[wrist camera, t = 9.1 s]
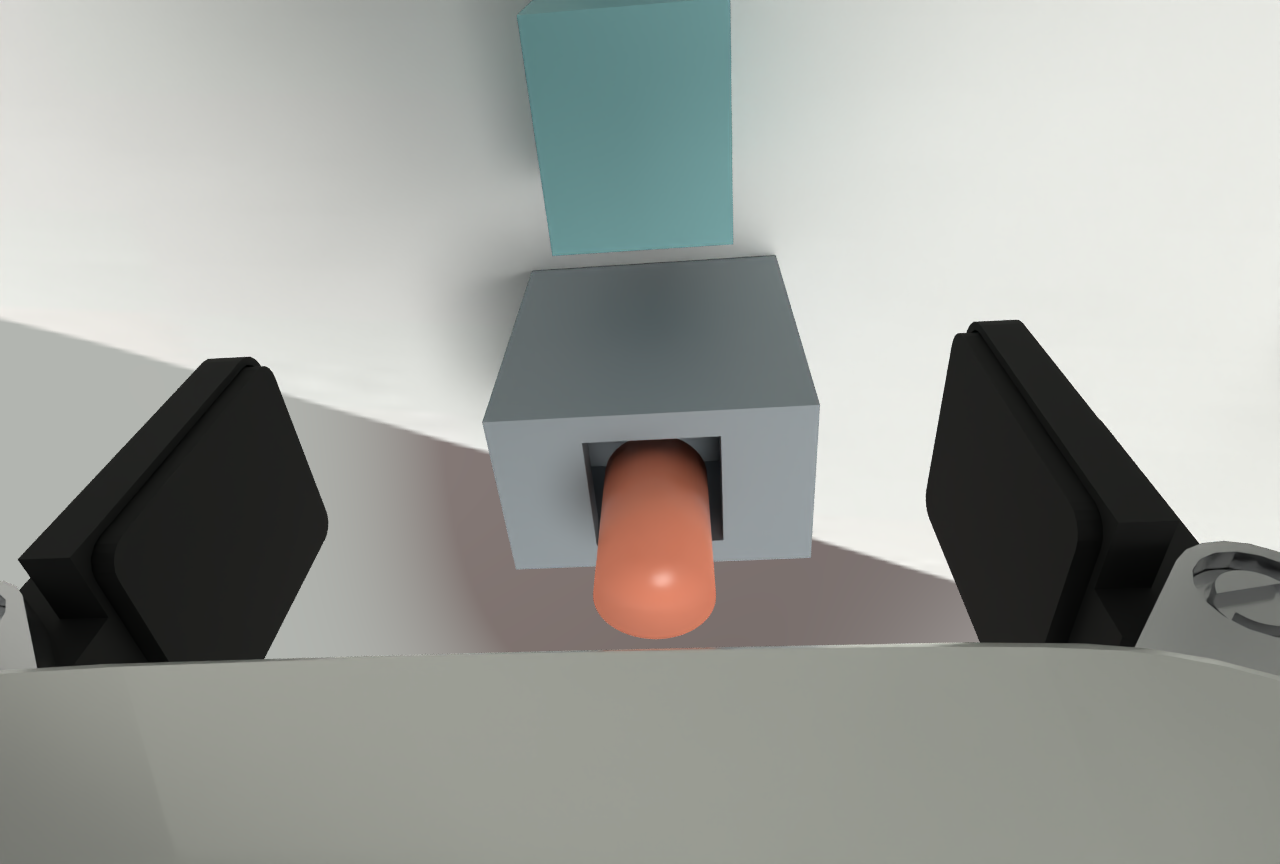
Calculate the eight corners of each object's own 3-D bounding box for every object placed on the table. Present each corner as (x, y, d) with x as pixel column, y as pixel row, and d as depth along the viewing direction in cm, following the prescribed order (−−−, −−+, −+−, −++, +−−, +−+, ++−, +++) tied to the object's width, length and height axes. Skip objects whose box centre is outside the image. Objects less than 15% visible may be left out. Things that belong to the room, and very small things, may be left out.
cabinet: (532, 271, 30) (482, 422, 22) (775, 255, 29) (819, 404, 21) (552, 395, 33) (515, 569, 25) (773, 384, 32) (810, 557, 24)
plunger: (599, 437, 23) (586, 555, 19) (705, 432, 23) (714, 550, 19) (610, 517, 24) (600, 640, 21) (708, 513, 24) (717, 637, 20)
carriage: (548, -16, 24) (516, 15, 19) (715, -31, 24) (730, -3, 19) (573, 182, 27) (552, 256, 22) (719, 172, 27) (733, 244, 22)
